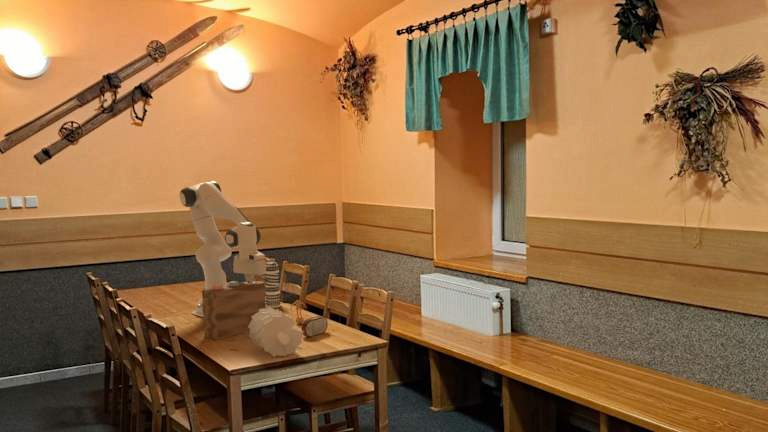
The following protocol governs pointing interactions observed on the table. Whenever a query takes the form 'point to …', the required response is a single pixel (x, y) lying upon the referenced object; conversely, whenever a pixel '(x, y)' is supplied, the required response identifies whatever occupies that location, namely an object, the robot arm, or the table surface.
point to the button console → (231, 309)
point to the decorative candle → (272, 285)
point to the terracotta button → (217, 287)
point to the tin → (314, 326)
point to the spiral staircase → (275, 332)
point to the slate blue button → (233, 284)
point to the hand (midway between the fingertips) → (249, 282)
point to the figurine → (299, 318)
